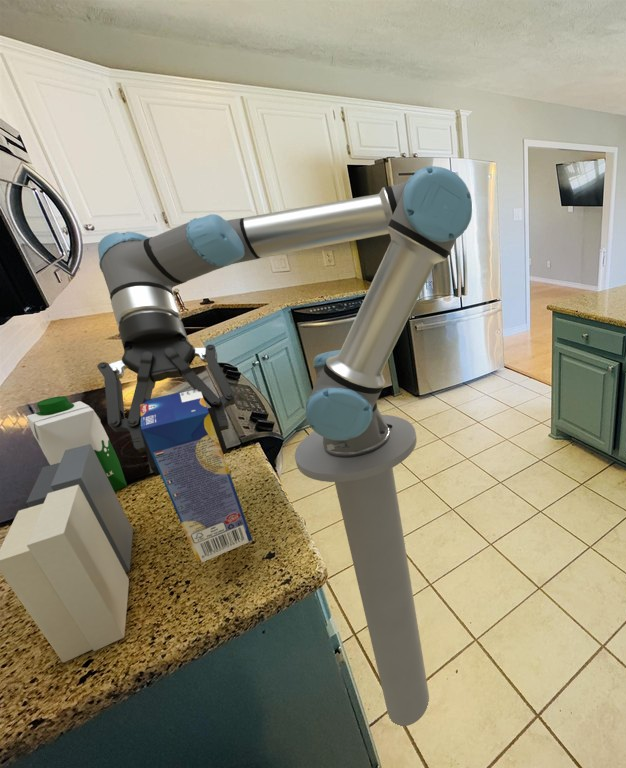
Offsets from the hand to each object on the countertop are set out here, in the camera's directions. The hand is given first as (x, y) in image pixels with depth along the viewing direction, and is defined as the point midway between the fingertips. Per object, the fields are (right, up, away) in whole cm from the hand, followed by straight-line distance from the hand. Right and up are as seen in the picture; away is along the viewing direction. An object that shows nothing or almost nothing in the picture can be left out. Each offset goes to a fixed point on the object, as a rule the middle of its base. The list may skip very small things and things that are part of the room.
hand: (191, 459), depth 57 cm
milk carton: (-41, -12, +27) cm, 50 cm away
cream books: (-13, -22, 0) cm, 26 cm away
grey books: (-22, -18, +10) cm, 30 cm away
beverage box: (-1, -13, +7) cm, 15 cm away
